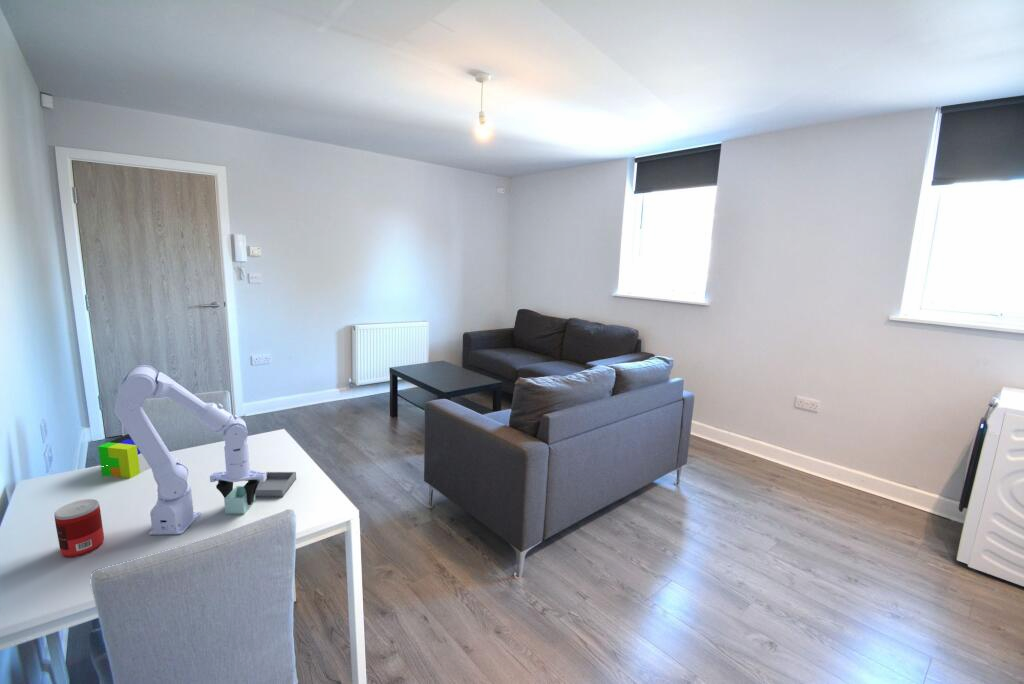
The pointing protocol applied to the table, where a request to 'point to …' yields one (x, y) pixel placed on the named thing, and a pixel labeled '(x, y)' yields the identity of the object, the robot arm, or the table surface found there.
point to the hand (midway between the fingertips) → (240, 503)
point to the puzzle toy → (122, 458)
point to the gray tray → (275, 484)
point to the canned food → (79, 527)
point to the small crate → (237, 502)
